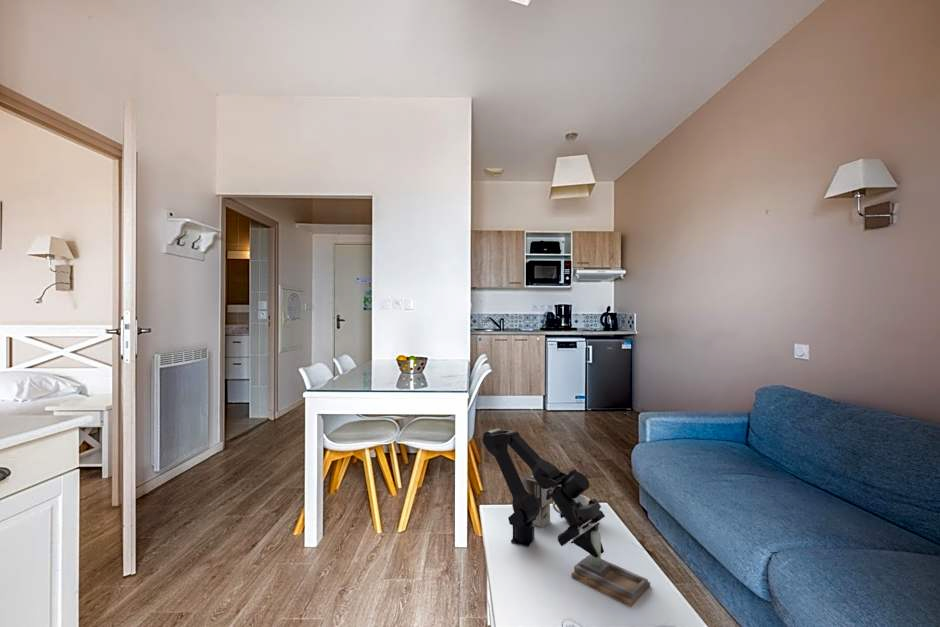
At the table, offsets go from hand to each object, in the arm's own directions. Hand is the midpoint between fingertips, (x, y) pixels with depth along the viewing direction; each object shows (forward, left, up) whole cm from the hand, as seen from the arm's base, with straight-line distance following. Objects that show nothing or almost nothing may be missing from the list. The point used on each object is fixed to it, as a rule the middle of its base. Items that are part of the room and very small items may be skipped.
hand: (600, 554), depth 126 cm
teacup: (-15, +31, -7) cm, 35 cm away
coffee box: (-27, +25, -7) cm, 38 cm away
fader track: (+3, -1, -7) cm, 7 cm away
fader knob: (-1, +1, -5) cm, 5 cm away
